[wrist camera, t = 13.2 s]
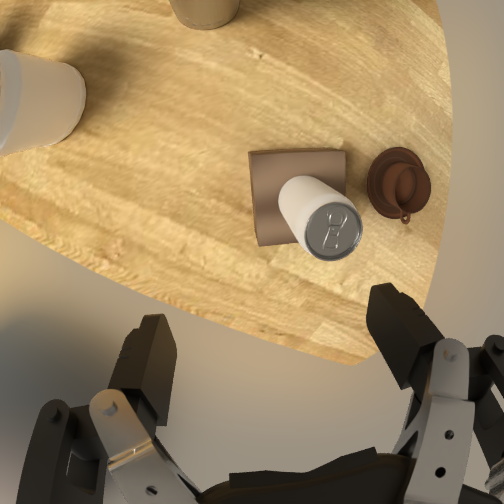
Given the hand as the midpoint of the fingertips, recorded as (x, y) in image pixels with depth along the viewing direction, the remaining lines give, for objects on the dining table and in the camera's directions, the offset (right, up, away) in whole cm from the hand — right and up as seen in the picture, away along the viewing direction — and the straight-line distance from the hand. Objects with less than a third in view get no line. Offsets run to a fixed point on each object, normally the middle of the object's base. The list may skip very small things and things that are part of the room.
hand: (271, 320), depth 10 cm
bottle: (-32, +26, +20) cm, 46 cm away
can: (+6, +9, +25) cm, 27 cm away
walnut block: (+5, +12, +30) cm, 32 cm away
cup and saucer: (+23, +14, +31) cm, 41 cm away
